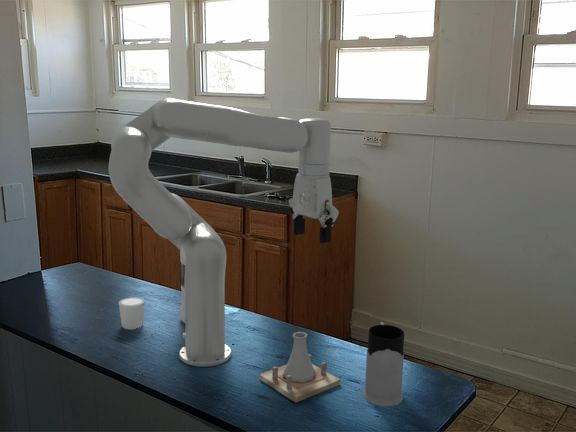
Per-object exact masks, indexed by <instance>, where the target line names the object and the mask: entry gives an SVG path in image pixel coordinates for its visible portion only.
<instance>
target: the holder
mask: <svg viewBox="0 0 576 432" xmlns="http://www.w3.org/2000/svg"><path fill="white" fill-rule="evenodd" d="M367 340H368V341H367V349H366V361H365V362H366V364H365V382H364V389H363V391H362V397H363V399H364V398H365V399H366V400H367V402H368V403H369V404H372V405H374V404H375V405H376V406H380V407H394V406H397V405H400V404H401V403H402V401H403V399H404V395H403V393H402V389H403V388H402V387H403V375H404V374H403V373H404V372H403V371H404V357H405V352H404V345H405V331H404V330H403V329H402V328H400V327H398V326H394V325H391V324H385V323H384V322H380V324H376V325H373V326H370V328H369V329H368V339H367ZM365 399H364V400H365ZM366 400H365V401H366Z"/></svg>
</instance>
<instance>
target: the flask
mask: <svg viewBox="0 0 576 432" xmlns="http://www.w3.org/2000/svg"><path fill="white" fill-rule="evenodd" d="M307 337H308V334H307V333H306V332H303V331H297V332H294V333H293V334H292V338H293V346H292V350H291V353H290V355H289V358H288V360H287V363H286V365H287V366H286V368H285V370H284V373H283V375H282V376H283V377H285V378H286V379H287V375H292V381H293V382H300V383H304V382H307V381H309V380H312V379H313V378H314V376H315V374H316V373H315V370H314V368H313V365H314V364H313V362H312V363H311V360H310V357H309V354H310V353H309V351H308V348H307V347H308V346H307ZM312 364H313V365H312Z"/></svg>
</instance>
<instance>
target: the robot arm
mask: <svg viewBox="0 0 576 432" xmlns="http://www.w3.org/2000/svg"><path fill="white" fill-rule="evenodd" d="M331 131H332V125H331V121H329V119H327V118H320V117H316V118H315V117H310V118H309V117H308V118H307V117H306V118H303V119H301V118H293V117H286V116H278V117H275V116H268V115H263V114H257V113H253V112H249V111H246V110H242V109H238V108H236V107H235V108H234V107H230V106H225V105H218V104H209V103H204V102H197V101H196V102H195V101H188V100H185V99H179V98H178V99H177V98H173V97H166V98H163V99H161V100H159V101H157V102H156V103H154V104H152V106H150V107H149V108H148V109H146V110H145V111H143V112H141V113H140V114H139V115H137V116H136V117H135V118H133V119H131V120H130V121H128V122H127V123H126V124H124V125H123V126H121V127H120V128H119V129H118V130H116V131H115V133H114V134H113V136H112V138H111V143H110V147H111V151H110V154H109V161H108V175H109V179H110V182H111V184H112V187H113V188H114V190H115V192H116V193H117V194H118V196H120V197H121V198H122V199H123V201H124V202H125V203H126V204H127V205H129V206H130V208H131V209H132V210H133V211H135V212H136V214H137V215H138V216H139V217H141V218H142V219H143V221H145V222H146V223H147V224H148V225H149V227H151V228H152V229H153V231H154V232H155V233H156V234H157V235H159V237H162V238H164V239H166V240H169V241H170V242H171V243H172V244H173V245H175V247H176V248H177V249H178V250H179V251H180V250H181V251H182V253H183V255H184V258H185V282H184V289H185V323H184V324H185V325H184V326H185V327H184V329H185V332H183V333H182V334H181V337H182V338H183V339H184V340H185V341H184V342H185V345H184V346H183V347H181V349H180V350H179V355H178V356H179V359H180V361H182V362H183V363H184V364H187V365H190V366H194V367H200V368H201V367H204V368H205V367H214V366H218V365H221V364H223V363H225V362H227V361H228V360H229V359H230V358H231V357H232V349H231V347H230V345H227V344H226V329H225V327H226V323H225V322H226V321H225V320H226V319H225V318H226V313H225V312H226V310H225V309H226V308H225V306H226V305H225V303H226V302H225V297H226V294H225V288H226V287H225V281H226V279H225V278H226V268H227V267H226V266H227V250H226V245H225V243H224V241H223V240H222V238H221V237H220V236H219V234H218V233H217V232H216V231H215V229H214V228H213V227H212V226H211V225H210V224H209V223H208V222H207V221H205V219H204V218H203V217H201V215H199V213H197V212H196V211H195V210H194V209H193V208H192V207H191V206H190V205H189V204H188V203H187V202H186V201H185V200H184V199H183V198H182V197H181V196H179V195H178V194H176V193H173V192H170V191H169V190H168V189H167V188H166V187H165V186H164V185H163V184H162V183H161V182H160V181H159V179H157V178H156V177H155V176H154V175H153V173H152V172H151V170H150V169H149V161H150V159H151V155H152V152H153V151H154V150H156V149H157V148H158V147H159V146H161V145H162V144H164V143H165V142H167V141H168V140H170V139H171V138H174V139H179V140H180V139H181V140H189V141H199V142H206V143H212V144H219V145H227V146H232V147H243V148H244V147H245V148H251V149H258V150H264V151H273V152H279V153H286V154H287V153H289V154H292V153H297V152H298V164H297V168H298V169H297V171H298V173H296V175H295V179H294V184H293V185H294V186H293V193H292V198H290V199H288V204H289V207H290V209H289V210H290V212H291V215H292V216H291V217H292V220H293V235H295V236H298V235H304V234H305V232H306V218H310V219H318V221H319V223H320V224H321V226H320V227H319V243H320V244H326V243H330V242H331V241H332V227H333V226H334V224H335V223H336V222H337V218H338V216H339V213H340V212H339V210H338V209H337V208H336V206H334V205H333V194H332V193H333V191H332V190H333V189H332V182H331V176H330V163H331V162H330V161H331V135H332V134H331ZM305 217H306V218H305Z"/></svg>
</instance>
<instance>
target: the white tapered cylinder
mask: <svg viewBox="0 0 576 432" xmlns="http://www.w3.org/2000/svg"><path fill="white" fill-rule="evenodd" d="M145 302H146V301H145V299H144V298H142V297H136V296H134V297H133V296H132V297H126V298H123V299H120V300H119V301H118V306H119V315H120V321H121V327H122V329H125V330H136V328H138V329H140V328H142V327H143V326H144V317H145ZM141 326H142V327H141ZM139 327H140V328H139Z"/></svg>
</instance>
